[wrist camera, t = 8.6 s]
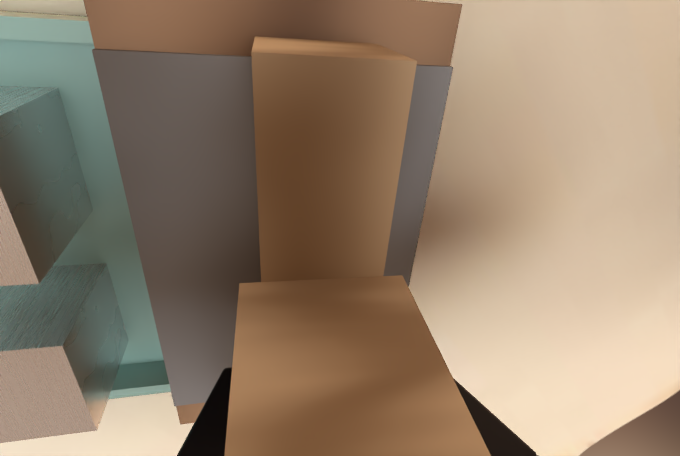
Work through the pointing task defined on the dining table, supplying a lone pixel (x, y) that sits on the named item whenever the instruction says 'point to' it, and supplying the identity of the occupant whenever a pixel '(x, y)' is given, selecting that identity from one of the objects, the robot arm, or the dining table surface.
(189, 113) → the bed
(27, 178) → the pale grey cube
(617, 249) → the dining table surface
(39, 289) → the grey cubic block
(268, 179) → the tan inverted t block
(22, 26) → the tray
